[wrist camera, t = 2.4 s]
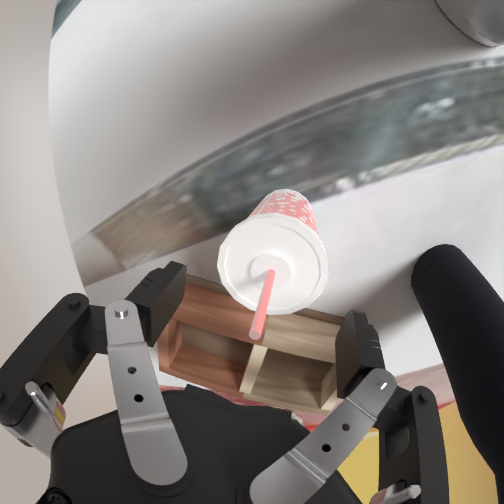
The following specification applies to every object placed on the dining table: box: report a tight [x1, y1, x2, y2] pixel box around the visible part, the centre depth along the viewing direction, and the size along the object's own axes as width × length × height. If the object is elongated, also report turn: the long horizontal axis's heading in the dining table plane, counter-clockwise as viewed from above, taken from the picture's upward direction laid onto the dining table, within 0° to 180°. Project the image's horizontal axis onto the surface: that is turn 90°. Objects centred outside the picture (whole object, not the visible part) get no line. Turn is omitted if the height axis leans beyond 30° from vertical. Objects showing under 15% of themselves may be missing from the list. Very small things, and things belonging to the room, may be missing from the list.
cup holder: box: [157, 274, 345, 415], centre depth 27 cm, size 11×20×5 cm, turn 78°
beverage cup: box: [217, 189, 328, 340], centre depth 17 cm, size 6×6×14 cm
